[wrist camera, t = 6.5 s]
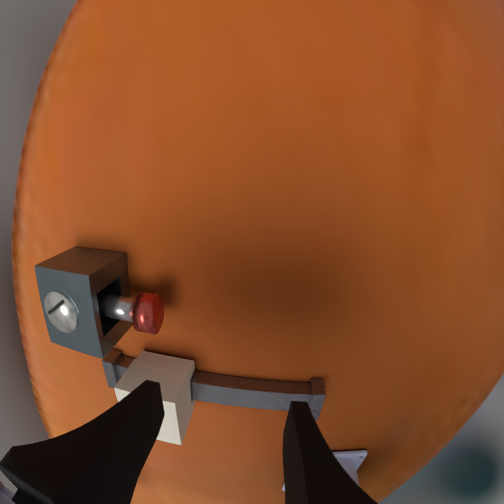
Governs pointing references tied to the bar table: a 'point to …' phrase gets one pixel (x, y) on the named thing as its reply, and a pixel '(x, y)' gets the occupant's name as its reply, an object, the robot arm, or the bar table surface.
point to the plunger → (134, 310)
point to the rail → (234, 388)
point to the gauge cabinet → (83, 298)
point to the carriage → (164, 390)
